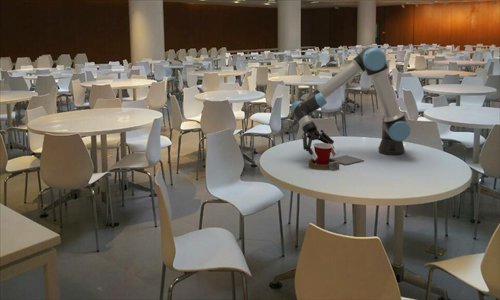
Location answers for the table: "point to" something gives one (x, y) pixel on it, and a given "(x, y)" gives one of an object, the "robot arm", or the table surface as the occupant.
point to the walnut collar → (331, 166)
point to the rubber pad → (347, 160)
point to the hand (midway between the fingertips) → (325, 157)
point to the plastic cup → (322, 153)
